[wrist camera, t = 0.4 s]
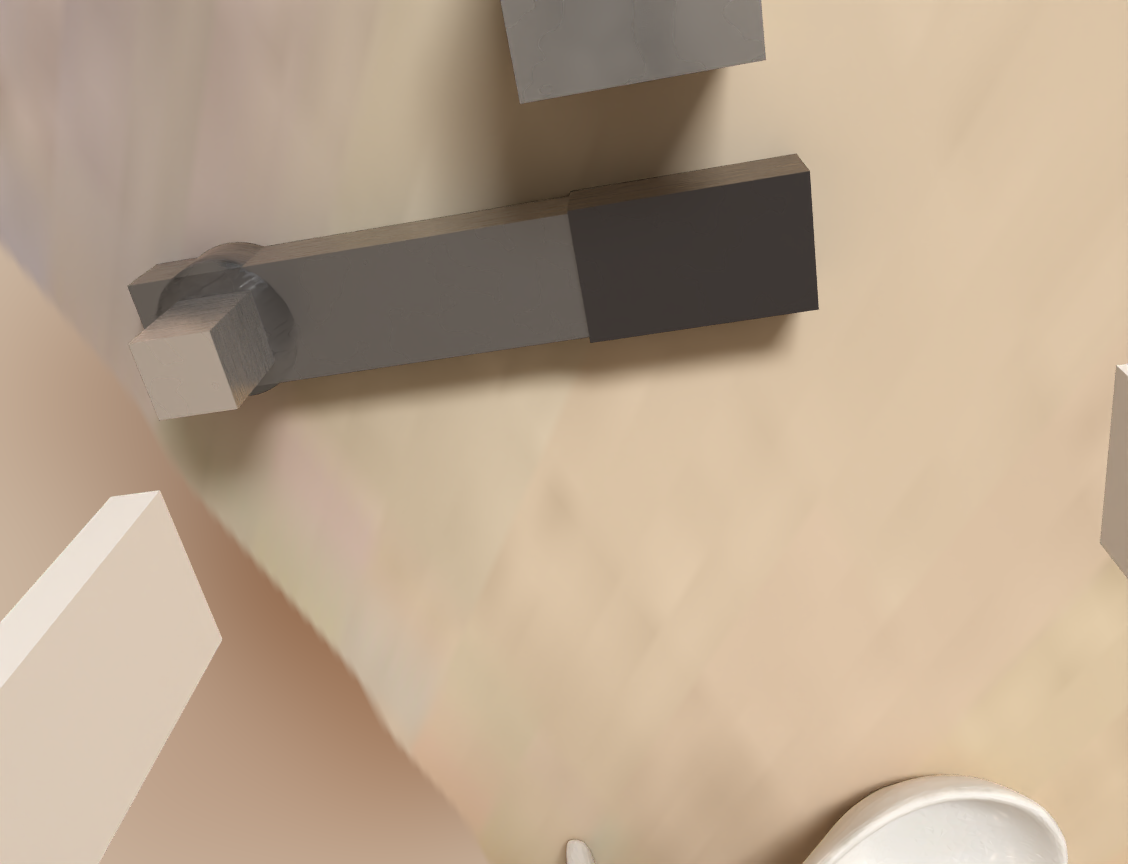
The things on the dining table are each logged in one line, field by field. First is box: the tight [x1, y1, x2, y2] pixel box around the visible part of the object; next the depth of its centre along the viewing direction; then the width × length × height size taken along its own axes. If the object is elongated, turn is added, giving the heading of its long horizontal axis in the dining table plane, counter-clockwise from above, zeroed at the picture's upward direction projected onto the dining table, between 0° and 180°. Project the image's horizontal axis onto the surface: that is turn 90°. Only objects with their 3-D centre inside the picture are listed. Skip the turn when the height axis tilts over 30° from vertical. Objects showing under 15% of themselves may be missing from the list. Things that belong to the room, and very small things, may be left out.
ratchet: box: [128, 154, 819, 420], centre depth 34 cm, size 24×5×6 cm, turn 100°
